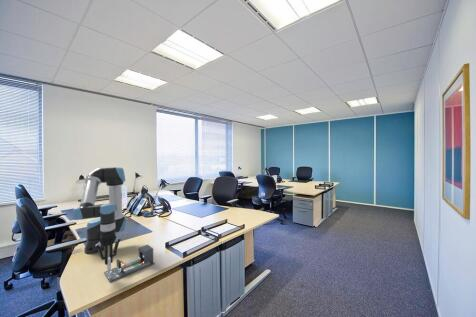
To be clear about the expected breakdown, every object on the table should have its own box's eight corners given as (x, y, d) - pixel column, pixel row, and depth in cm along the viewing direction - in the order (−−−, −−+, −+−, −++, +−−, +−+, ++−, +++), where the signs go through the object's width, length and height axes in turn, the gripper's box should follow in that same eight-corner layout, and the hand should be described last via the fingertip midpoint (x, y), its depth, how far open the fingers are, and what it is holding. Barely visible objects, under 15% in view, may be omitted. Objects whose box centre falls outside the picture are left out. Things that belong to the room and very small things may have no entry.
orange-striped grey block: (115, 268, 125) (115, 258, 125) (137, 260, 135) (137, 251, 135) (120, 274, 119) (119, 263, 119) (142, 265, 129) (142, 255, 129)
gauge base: (103, 273, 123) (103, 257, 123) (146, 257, 142) (146, 243, 142) (109, 282, 114) (109, 265, 114) (154, 264, 133) (154, 249, 133)
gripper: (96, 234, 111) (97, 276, 112) (122, 228, 121) (122, 266, 121) (93, 231, 117) (94, 271, 117) (118, 225, 126) (119, 262, 126)
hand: (108, 268), depth 119 cm, fingers closed
